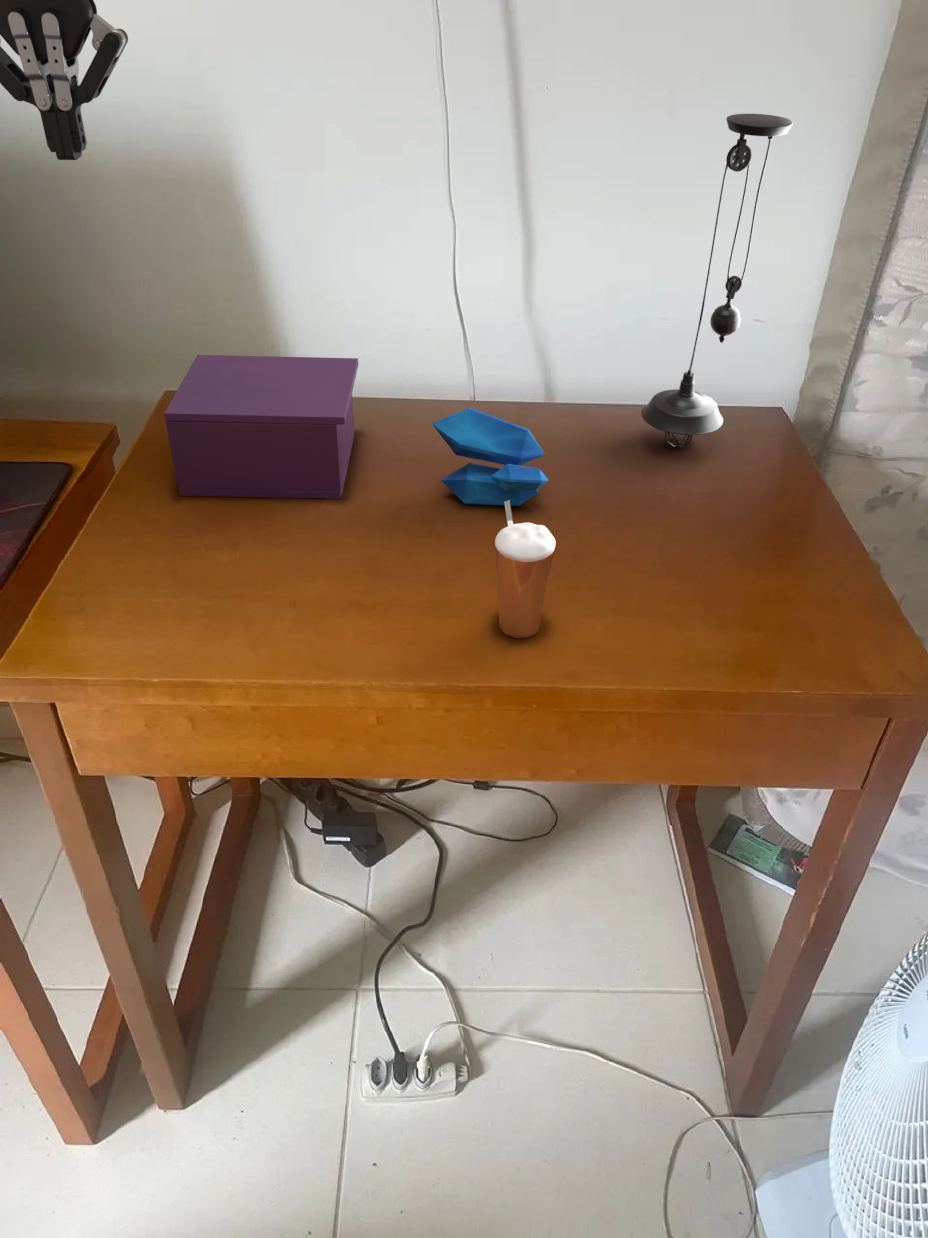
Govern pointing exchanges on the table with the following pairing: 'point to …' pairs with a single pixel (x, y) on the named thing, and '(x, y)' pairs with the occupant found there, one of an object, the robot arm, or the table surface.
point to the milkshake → (522, 575)
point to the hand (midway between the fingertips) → (70, 157)
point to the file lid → (265, 390)
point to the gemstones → (491, 459)
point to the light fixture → (684, 405)
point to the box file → (261, 458)
